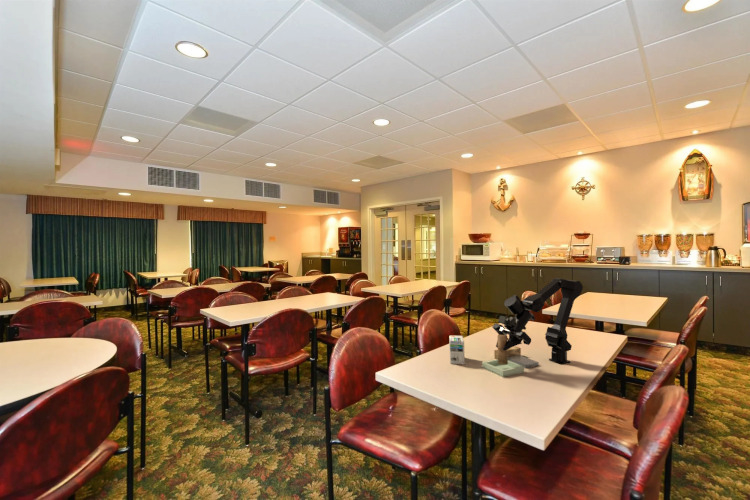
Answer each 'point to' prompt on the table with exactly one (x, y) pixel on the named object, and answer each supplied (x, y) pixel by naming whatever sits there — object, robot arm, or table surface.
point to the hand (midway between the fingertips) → (500, 348)
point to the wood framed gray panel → (523, 361)
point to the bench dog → (510, 352)
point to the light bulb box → (456, 349)
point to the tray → (503, 368)
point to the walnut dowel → (501, 353)
